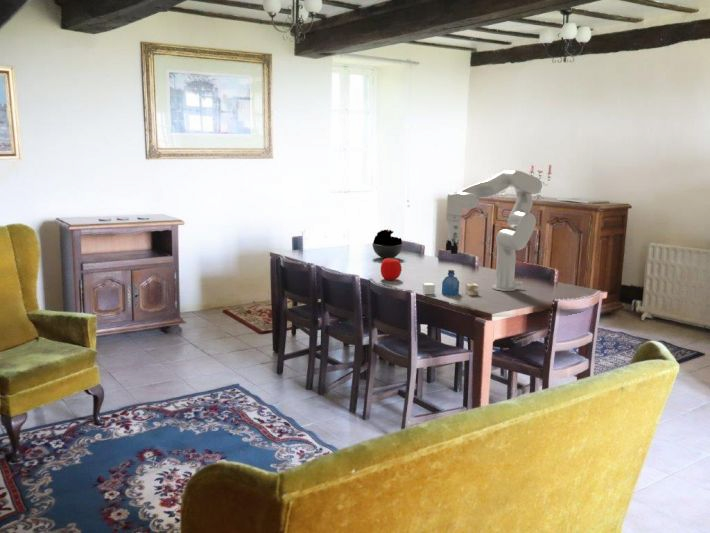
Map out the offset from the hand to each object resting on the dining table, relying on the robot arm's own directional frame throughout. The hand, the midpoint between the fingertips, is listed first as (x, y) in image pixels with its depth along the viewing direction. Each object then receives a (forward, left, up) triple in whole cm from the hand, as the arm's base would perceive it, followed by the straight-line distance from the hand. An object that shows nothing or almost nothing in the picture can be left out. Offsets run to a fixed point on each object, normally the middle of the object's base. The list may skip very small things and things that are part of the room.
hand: (451, 252), depth 320 cm
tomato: (+24, -34, -22) cm, 47 cm away
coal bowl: (+15, -99, -22) cm, 103 cm away
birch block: (-12, +1, -22) cm, 24 cm away
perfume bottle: (-1, 0, -22) cm, 22 cm away
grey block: (+10, -1, -22) cm, 24 cm away
